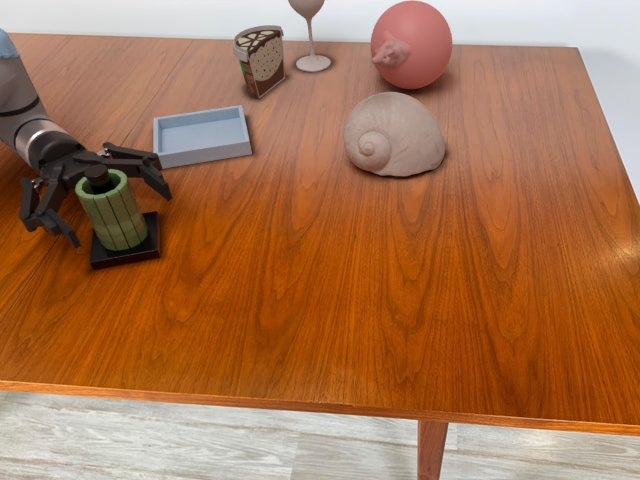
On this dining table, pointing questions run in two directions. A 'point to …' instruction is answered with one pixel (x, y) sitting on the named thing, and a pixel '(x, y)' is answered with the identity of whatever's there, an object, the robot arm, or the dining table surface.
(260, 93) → the food container
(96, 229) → the ring sleeve
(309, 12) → the wineglass
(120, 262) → the post
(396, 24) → the balloon
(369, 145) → the seashell
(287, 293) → the dining table surface
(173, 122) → the tray
